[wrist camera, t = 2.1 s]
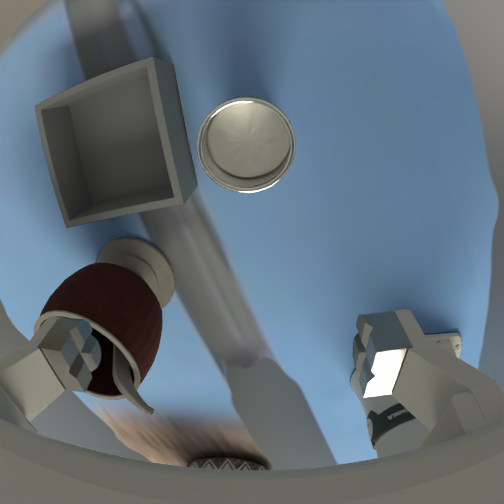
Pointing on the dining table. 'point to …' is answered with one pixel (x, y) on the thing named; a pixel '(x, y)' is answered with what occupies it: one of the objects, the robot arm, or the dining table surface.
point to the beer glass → (246, 144)
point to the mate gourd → (119, 313)
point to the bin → (118, 143)
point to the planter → (226, 464)
